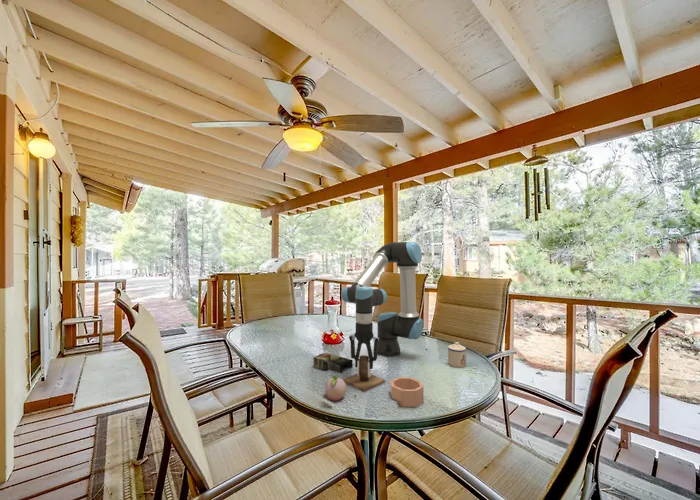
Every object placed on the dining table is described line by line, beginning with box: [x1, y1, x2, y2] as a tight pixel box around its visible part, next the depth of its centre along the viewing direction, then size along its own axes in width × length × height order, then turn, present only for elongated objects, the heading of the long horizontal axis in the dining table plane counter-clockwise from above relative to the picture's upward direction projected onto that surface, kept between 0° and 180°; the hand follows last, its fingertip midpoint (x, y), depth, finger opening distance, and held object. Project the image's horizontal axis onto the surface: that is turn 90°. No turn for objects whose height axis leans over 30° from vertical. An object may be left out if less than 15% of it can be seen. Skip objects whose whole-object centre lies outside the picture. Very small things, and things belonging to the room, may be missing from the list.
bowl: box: [390, 376, 424, 408], centre depth 121 cm, size 12×12×6 cm
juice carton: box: [312, 352, 354, 374], centre depth 153 cm, size 20×10×6 cm, turn 52°
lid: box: [342, 354, 386, 393], centre depth 133 cm, size 13×13×11 cm
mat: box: [345, 381, 387, 393], centre depth 133 cm, size 14×14×2 cm
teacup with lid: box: [447, 341, 467, 368], centre depth 160 cm, size 12×9×12 cm
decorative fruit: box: [325, 375, 347, 401], centre depth 120 cm, size 9×8×10 cm
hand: (364, 375), depth 133 cm, fingers closed on lid, 4 cm apart
